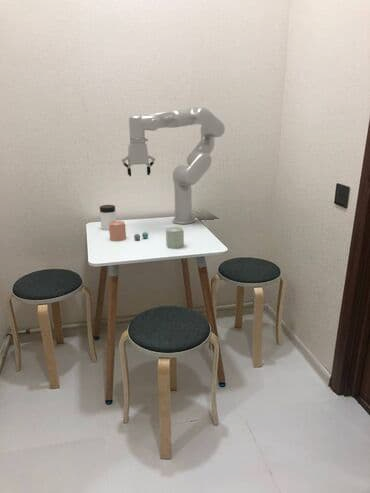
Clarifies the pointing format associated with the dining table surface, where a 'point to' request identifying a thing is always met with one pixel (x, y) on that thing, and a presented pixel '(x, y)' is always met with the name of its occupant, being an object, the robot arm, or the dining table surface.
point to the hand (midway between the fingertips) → (139, 175)
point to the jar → (107, 215)
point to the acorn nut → (174, 237)
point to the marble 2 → (145, 235)
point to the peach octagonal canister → (117, 230)
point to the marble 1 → (137, 236)
